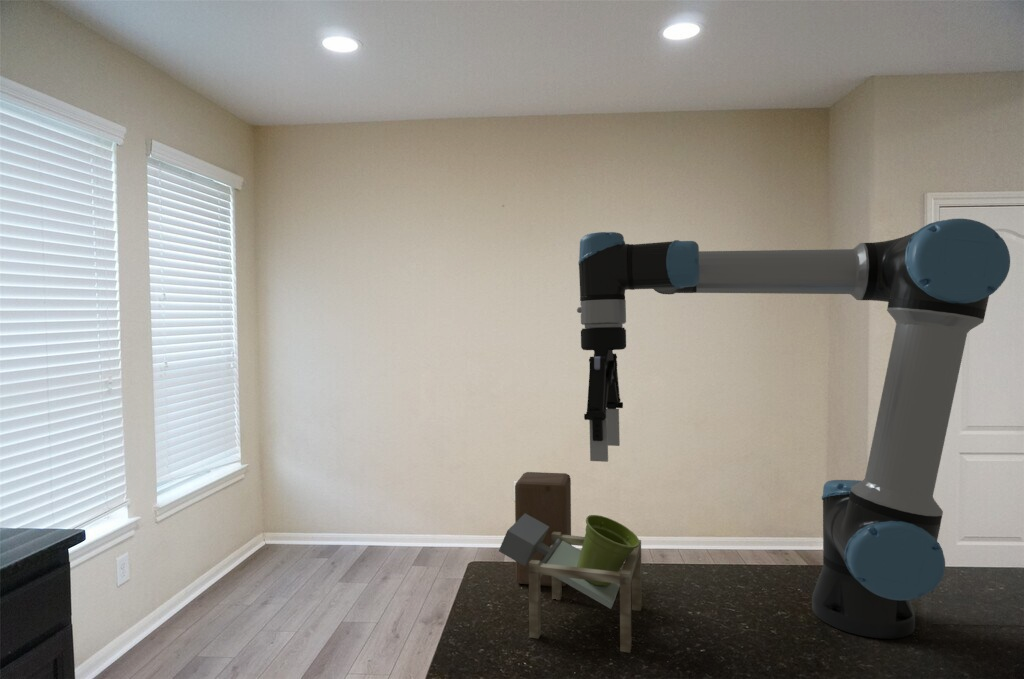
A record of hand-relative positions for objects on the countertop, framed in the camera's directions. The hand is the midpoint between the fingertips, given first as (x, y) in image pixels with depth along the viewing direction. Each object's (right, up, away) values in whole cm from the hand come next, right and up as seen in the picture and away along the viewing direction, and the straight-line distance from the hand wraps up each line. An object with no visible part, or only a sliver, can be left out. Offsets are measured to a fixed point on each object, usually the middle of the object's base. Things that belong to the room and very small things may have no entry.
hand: (605, 452), depth 102 cm
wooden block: (-9, -29, +19) cm, 36 cm away
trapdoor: (-8, -20, +2) cm, 22 cm away
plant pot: (-2, -21, -1) cm, 21 cm away
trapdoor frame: (-3, -29, 0) cm, 29 cm away
